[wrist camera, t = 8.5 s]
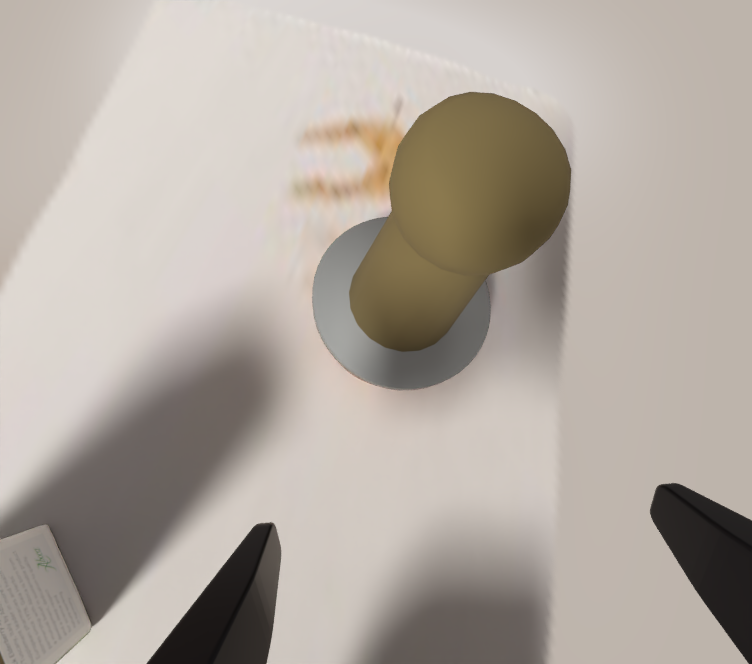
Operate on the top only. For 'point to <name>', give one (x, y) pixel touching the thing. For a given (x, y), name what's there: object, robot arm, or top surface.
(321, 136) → the top surface
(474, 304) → the lid
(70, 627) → the syrup box
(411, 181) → the cork
